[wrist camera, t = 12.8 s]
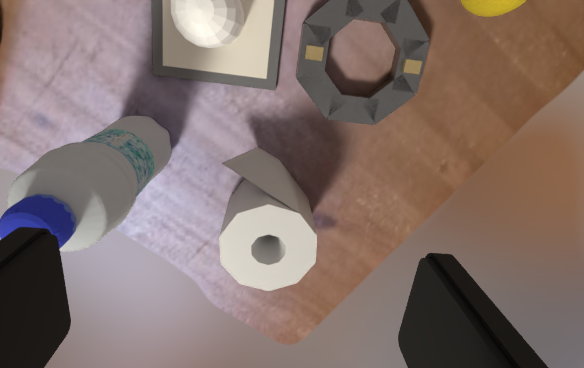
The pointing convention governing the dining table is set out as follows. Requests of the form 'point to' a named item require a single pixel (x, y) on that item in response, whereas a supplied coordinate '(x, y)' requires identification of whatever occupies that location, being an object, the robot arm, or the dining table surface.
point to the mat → (222, 48)
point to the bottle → (88, 183)
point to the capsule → (208, 21)
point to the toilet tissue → (266, 225)
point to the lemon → (491, 6)
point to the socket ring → (405, 68)
